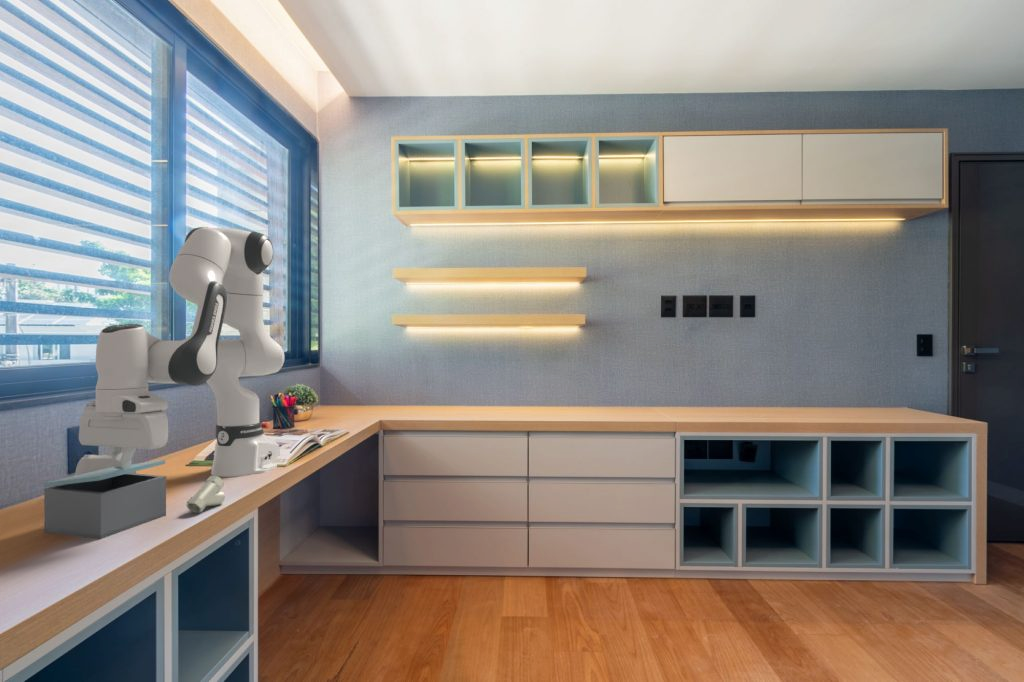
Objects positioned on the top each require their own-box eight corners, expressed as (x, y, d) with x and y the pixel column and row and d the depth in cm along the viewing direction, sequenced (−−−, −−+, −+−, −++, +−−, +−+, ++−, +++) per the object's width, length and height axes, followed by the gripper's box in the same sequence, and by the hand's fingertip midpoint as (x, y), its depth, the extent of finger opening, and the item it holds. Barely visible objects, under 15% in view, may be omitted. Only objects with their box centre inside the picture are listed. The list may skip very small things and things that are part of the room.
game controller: (140, 489, 136) (140, 450, 136) (129, 494, 132) (129, 454, 132) (83, 489, 135) (83, 451, 135) (69, 494, 131) (69, 455, 131)
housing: (113, 511, 118) (113, 471, 118) (166, 517, 114) (166, 476, 114) (44, 533, 105) (44, 488, 105) (100, 540, 101) (100, 494, 101)
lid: (113, 470, 118) (113, 466, 118) (165, 463, 114) (164, 460, 114) (44, 486, 105) (44, 482, 105) (100, 480, 101) (99, 476, 101)
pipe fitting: (218, 495, 125) (207, 475, 121) (232, 496, 124) (221, 476, 121) (195, 522, 118) (182, 501, 115) (210, 523, 117) (198, 502, 114)
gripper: (69, 402, 108) (69, 468, 108) (145, 404, 103) (145, 475, 102) (100, 399, 114) (100, 462, 114) (174, 401, 109) (174, 467, 109)
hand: (122, 468), depth 108 cm, fingers closed
